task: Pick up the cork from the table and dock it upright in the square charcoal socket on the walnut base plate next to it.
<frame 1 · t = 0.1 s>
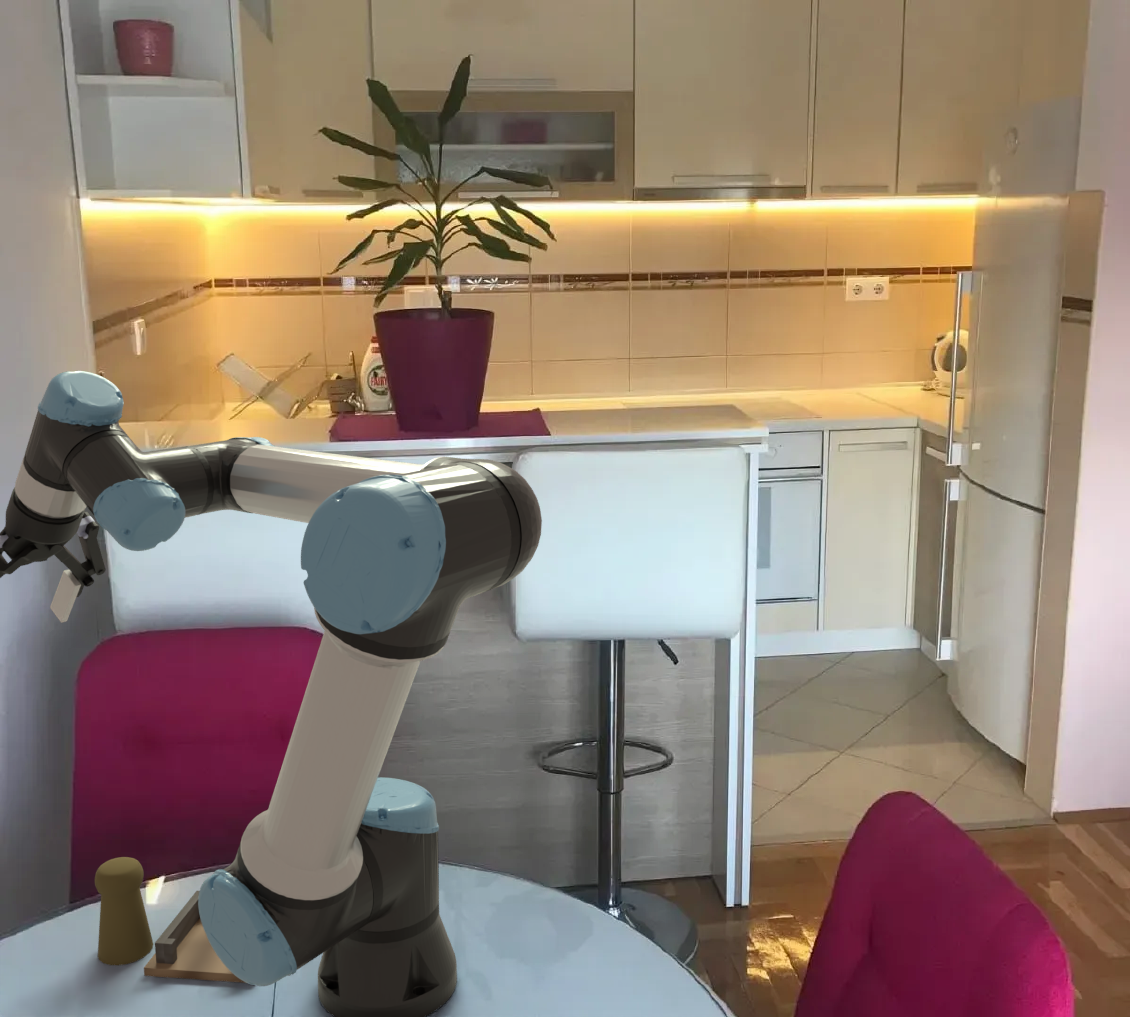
hand: (4, 628, 133), 36 cm above the table, tool tilted 35°, fingers open, 13 cm apart
cork: (125, 951, 130), on the table
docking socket: (223, 945, 131), on the table
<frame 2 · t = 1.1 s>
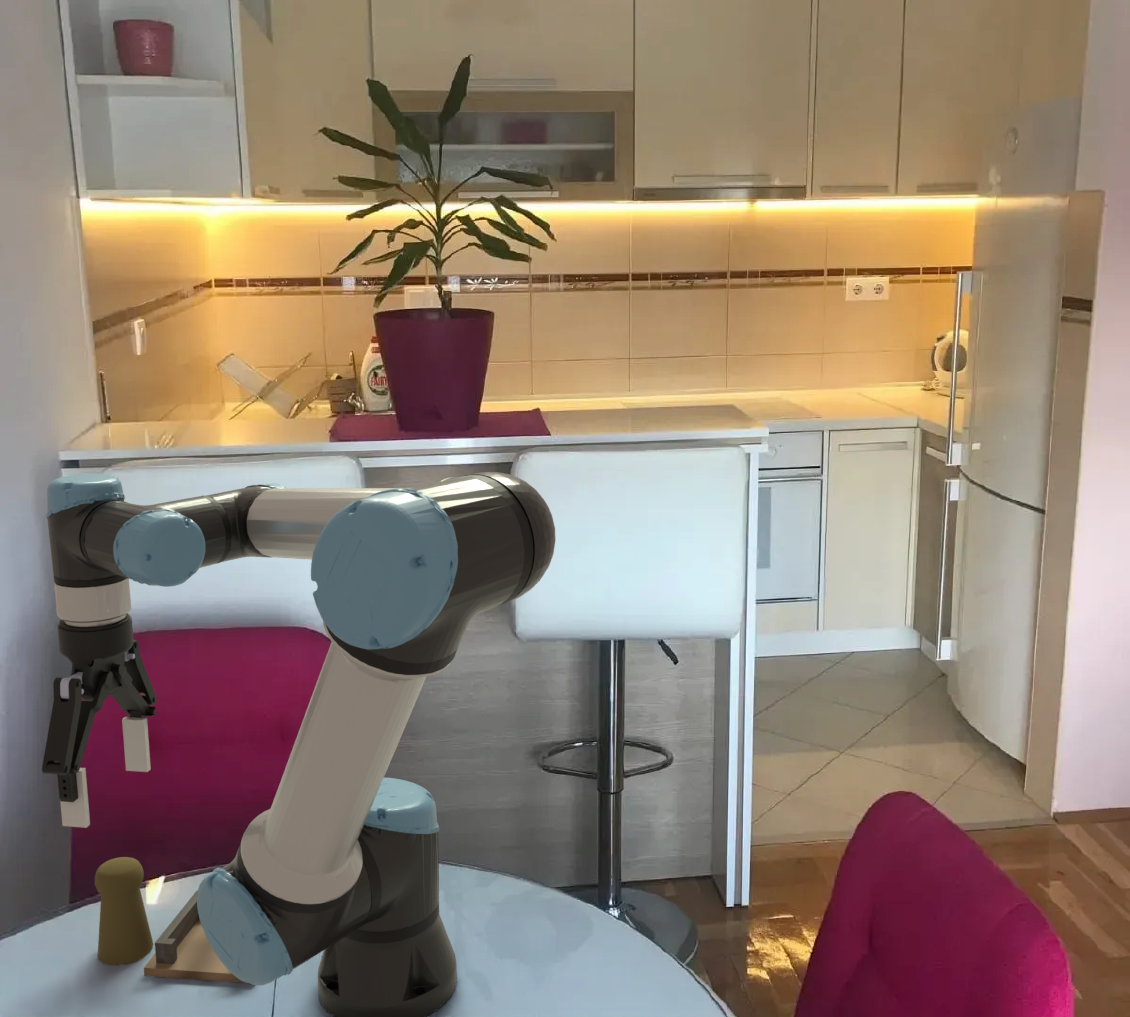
hand: (108, 796, 127), 19 cm above the table, tool pointing down, fingers open, 13 cm apart
nothing on the table moved.
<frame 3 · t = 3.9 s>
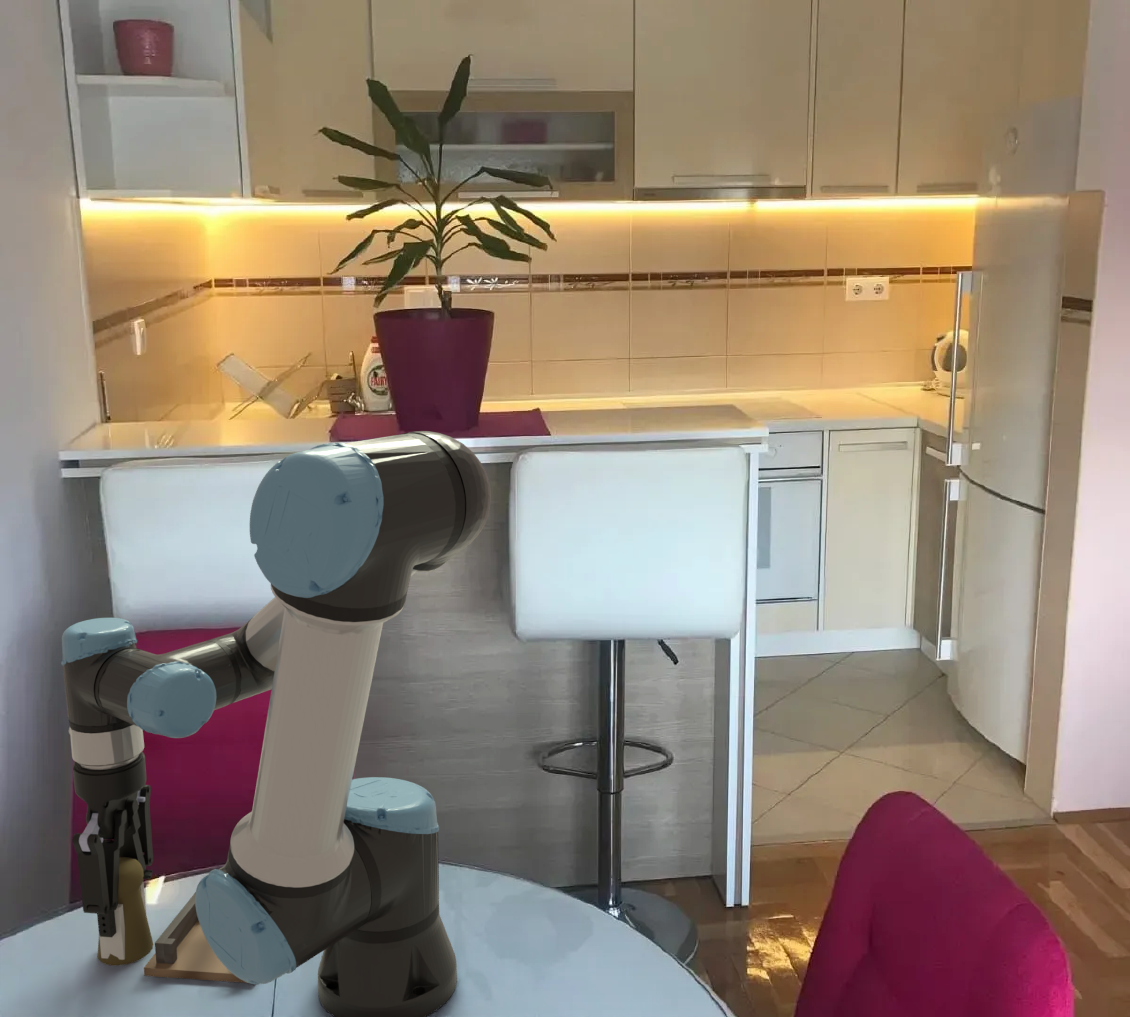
hand: (124, 943, 130), 1 cm above the table, tool pointing down, fingers closed on cork, 4 cm apart
cork: (125, 951, 130), on the table, touching gripper
when the fingers open (4 cm above the table, at t = 8.7 s): cork drops 2 cm, resting on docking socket.
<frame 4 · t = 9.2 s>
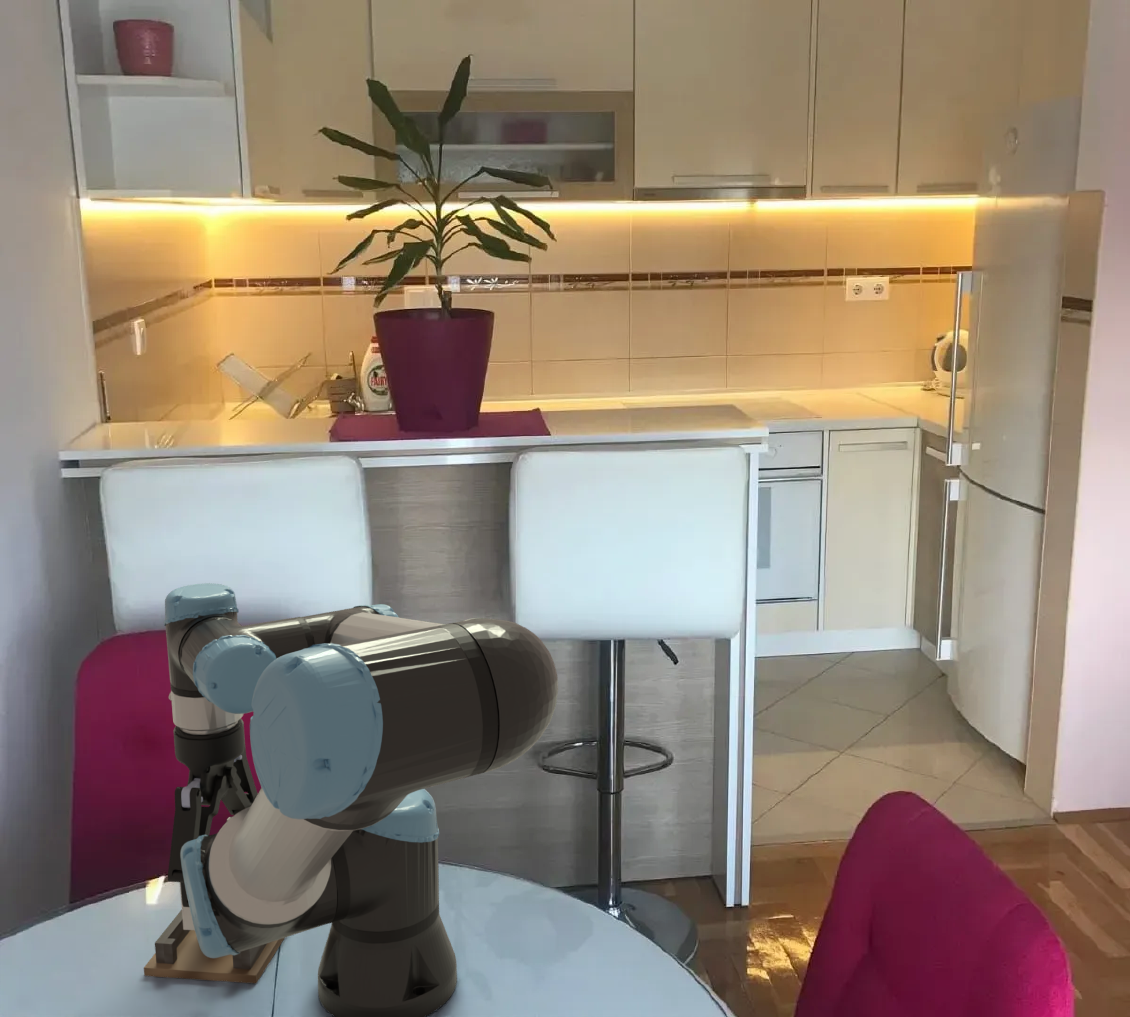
hand: (220, 897, 130), 6 cm above the table, tool pointing down, fingers open, 12 cm apart
cork: (226, 934, 132), point 1 cm above the table, touching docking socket
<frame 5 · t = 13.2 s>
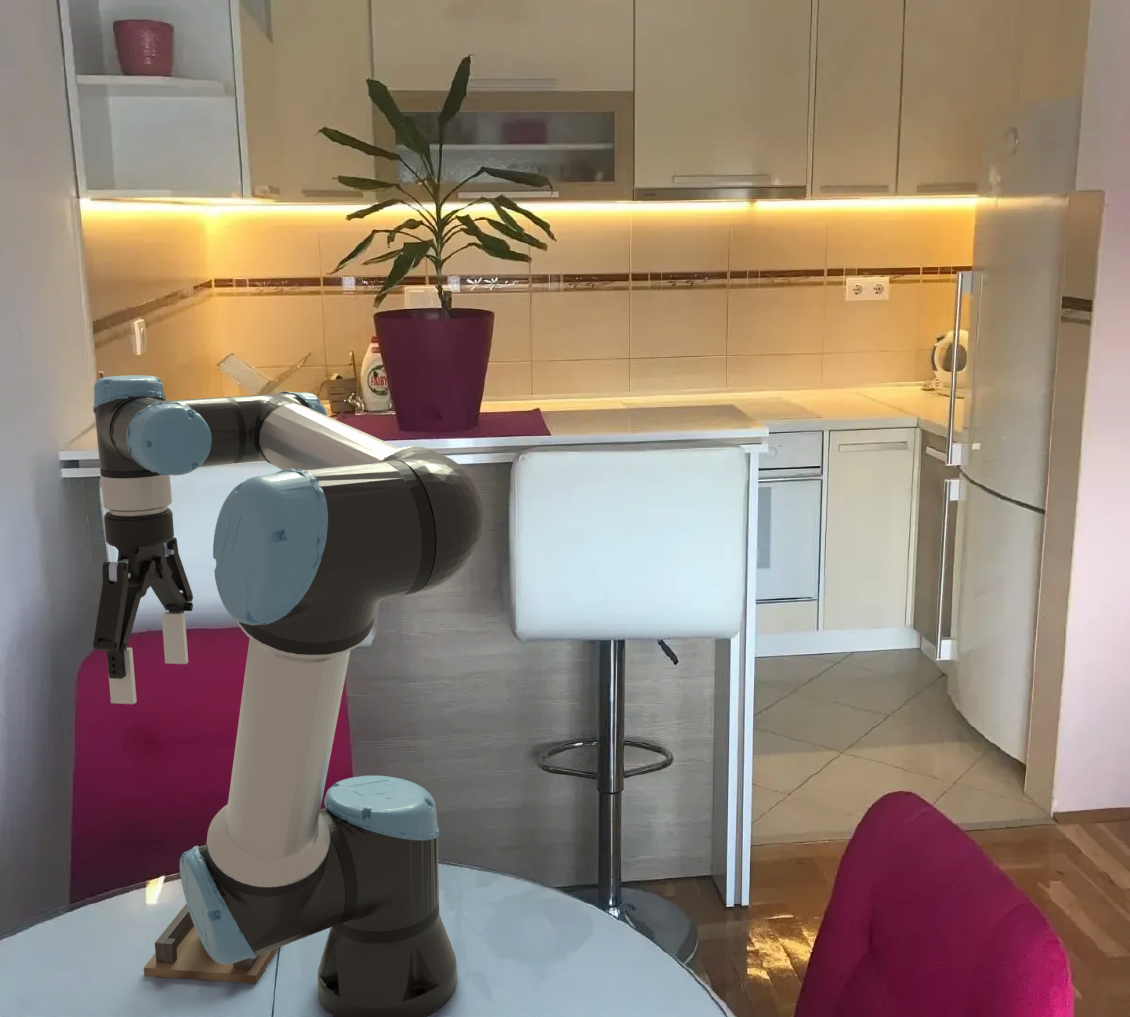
hand: (151, 682, 135), 29 cm above the table, tool pointing down, fingers open, 13 cm apart
nothing on the table moved.
at the end: cork 1.1 cm off-centre on the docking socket, point 0.8 cm above the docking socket's base; cork tilted 0°; the gripper is holding nothing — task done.
